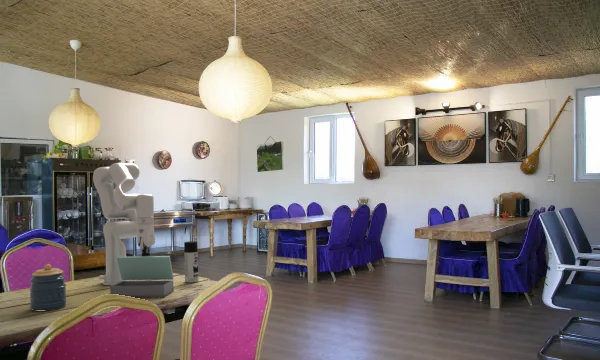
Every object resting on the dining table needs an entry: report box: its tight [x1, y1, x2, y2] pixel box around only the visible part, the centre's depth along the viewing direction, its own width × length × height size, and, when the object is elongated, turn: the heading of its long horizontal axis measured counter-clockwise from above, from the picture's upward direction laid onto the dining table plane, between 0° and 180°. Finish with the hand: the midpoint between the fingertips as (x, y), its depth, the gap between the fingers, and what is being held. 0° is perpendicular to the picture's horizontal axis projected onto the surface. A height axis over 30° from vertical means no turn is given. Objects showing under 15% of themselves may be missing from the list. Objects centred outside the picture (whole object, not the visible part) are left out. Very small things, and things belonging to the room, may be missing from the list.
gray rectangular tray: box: [109, 279, 174, 299], centre depth 209 cm, size 24×12×5 cm, turn 87°
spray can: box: [183, 240, 200, 284], centre depth 236 cm, size 7×7×20 cm
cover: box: [117, 255, 174, 281], centre depth 213 cm, size 24×12×1 cm
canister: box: [29, 263, 67, 311], centre depth 189 cm, size 13×13×18 cm
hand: (146, 261), depth 213 cm, fingers closed
